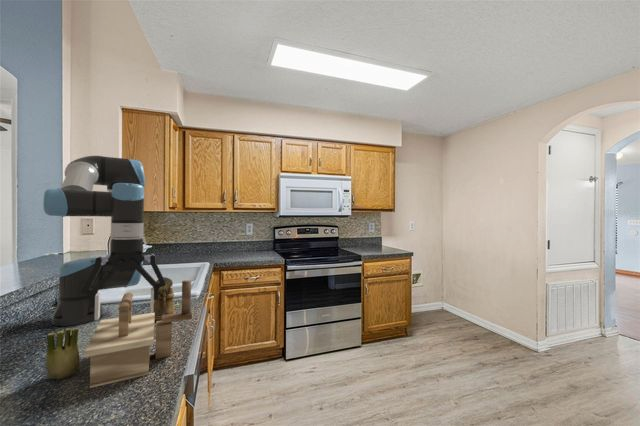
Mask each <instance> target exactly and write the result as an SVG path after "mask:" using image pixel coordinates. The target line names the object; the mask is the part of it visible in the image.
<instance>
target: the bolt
mask: <svg viewBox="0 0 640 426" xmlns="http://www.w3.org/2000/svg"><path fill="white" fill-rule="evenodd" d="M191 297H192V280H190V279H186V280H185V279H184V280H182V281H181V312H177V313H174V314H167V315H162V320H161V321H162V324H163V323H169V322H172V323H173V322H175V323H176V322H180V321H187V320H191V319H192V318H193V313H192V311H191V308H192V307H191V302H192V300H191V299H192V298H191Z"/></svg>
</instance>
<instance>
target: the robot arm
mask: <svg viewBox="0 0 640 426" xmlns="http://www.w3.org/2000/svg"><path fill="white" fill-rule="evenodd" d="M64 176H65V178H64V180H63V182H62V184H61V186H60V188H48V189H46V190H45V191H44V194H43V205H42V206H43V211H44V213H45V214H46V215H47V216H50V217H51V216H52V217H62V218H63V217H64V218H65V217H105V218H106V217H110V242H109V243H110V245H109V246H110V247H109V248H110V251H109V253H108V254H106V255H105V257H104V256H98V257H96V256H94V257H87V258H86V257H85V258H80V259H79V258H78V259H75V260H71V261H67V262H64V263H63V264H61V266H60V268H59V275H58V278H59V283H58V286H59V288H58V289H59V290H58V302H57V305H56V308H55V310H54V312H53V315H52V317H51V325H53V326H56V327H66V326H67V327H70V326H76V325H81V324H86V323H89V322H92V321H99V320H100V318H102V317H103V315H104V309H103V306H102V304H101V292H99V291H101V290H103V291H104V290H109V289H119V288H127V287H134V286H137V285H138V284H140V283H139V282H140V281H141V277H143V278H144V280H146V282H148V283H149V285H151V288H150V312H149V313H152V312H153V311H154V300H157V299H158V290H159V288H160V287H162V286H165V284H166V283H165V280H164V278H163V277H164V276H163V274H162V272H161V270H160V267H159V266H158V264H157V262H156V254H155V253H152V254H149V255H148V254H147V255H145V254H144V239H143V238H142V237H144V227H145V226H144V224H145V222H144V211H145V209H144V208H145V196H146V195H145V188H146V178H145V170H144V166H143V164H142V162H141V161H140V160H135V159H131V158H123V157H111V156H102V155H88V156H87V155H86V156H83V157H79V158H76V159H74V160H72V161H70V162H69V163H68V164H67V165H66V167H65V170H64ZM94 185H95V186H106V189H107V191H102V190H101V191H100V190H99V191H97V190H93V189H94ZM144 261H147V263H149V264H150V265H151V267H152V268H151V269H152V270H153V271H154V274H155V276H156V278H157V280H159V283H157V282H156V281H157V280H155V279H154V277H152V275H150V273H149V272H148V271H147V270H146V269H145V268H144V266H143V265H144V264H143V263H144Z"/></svg>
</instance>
